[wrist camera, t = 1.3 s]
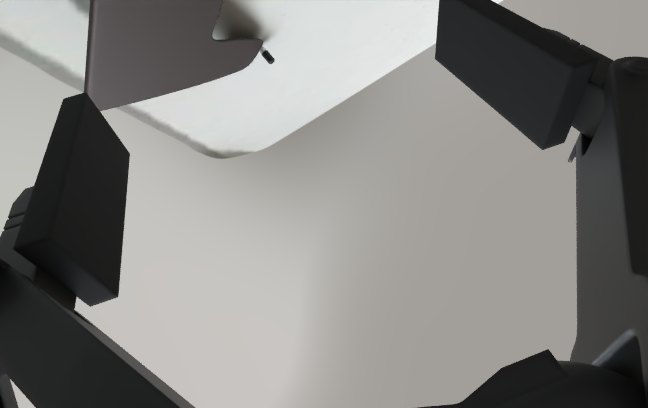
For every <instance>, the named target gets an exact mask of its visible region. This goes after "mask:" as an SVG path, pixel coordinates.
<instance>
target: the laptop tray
mask: <svg viewBox="0 0 648 408" xmlns="http://www.w3.org/2000/svg"><path fill="white" fill-rule="evenodd" d="M222 3H223V0H90V12H89V27H88V41H87V56H86V71H85V85H84V93H85V92H87V94H88V95H89V97H90V98H91V100H92V101H93V102H94V104H95V105H96V107H97V108H98V109H99V111H102V110H107V109H110V108H115V107H119V106H123V105H127V104H131V103H135V102H139V101H143V100H147V99H150V98H154V97H158V96H161V95H165V94H169V93H172V92H176V91H179V90H183V89H186V88H190V87H193V86H196V85H200V84H203V83H206V82H209V81H212V80H215V79H218V78H221V77H224V76H227V75H230V74H232V73H235V72H238V71H240V70H242V69H244V68H246V67H247V66H248V65H249V64H250V63H251V62H252V61H253V60H254V58H255V57H256V56H257V54H258V52H260V53H261V54H262V56H263V57H264V58H265V59H266V60H267V62H268V63H269V64H272V63H273V62H274V58H273V57H272V56H271V55H270V53H269V52H268V51H267V50H266V49H265V48H264V47H263V46H262V45H263V42H262V40H260V39H225V40H215V39H213V37H212V32H213V28H214V25H215V22H216V19H217V16H218V14H219V11H220V8H221V5H222Z"/></svg>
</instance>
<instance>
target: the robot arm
mask: <svg viewBox="0 0 648 408" xmlns="http://www.w3.org/2000/svg"><path fill="white" fill-rule="evenodd" d="M435 59H436V60H437V61H438V62H439V63H441V64H442V65H443V66H444V67H445V68H446V69H448V70H449V71H450V72H451V73H452V74H453V75H455V76H456V77H457V78H458V79H459V80H461V81H462V82H463V83H464V84H465V85H466V86H468V87H469V88H470V89H471V90H472V91H474V92H475V93H476V94H477V95H478V96H479V97H481V98H482V99H483V100H484V101H485V102H486V103H488V104H489V105H490V106H491V107H493V108H494V109H495V110H496V111H497V112H498V113H499V114H501V115H502V116H503V117H504V118H505V119H507V120H508V121H509V122H510V123H511V124H512V125H514V126H515V127H516V128H517V129H518V130H519V131H521V132H522V133H523V134H524V135H525V136H527V137H528V138H529V139H530V140H531V141H532V142H534V143H535V144H536V145H537V146H538V147H539V148H541V149H542V150H544V149H547V148H550V147H552V146H555V145H558V144H561V143H564V142H565V140H566V137H567V135H568V133H569V130H570V128H571V126H573V127H574V128H576V129H577V130H578V131H580V134H579V137H578V139H577V141H576V144H575V146H574V148H573V150H572V153H571V155H570V157H569V159H568V162H572V160H573V158H574V157H576V194H577V195H576V201H577V202H576V207H577V337H576V342H575V345H574V348H573V350H572V354H571V358H570V361H557V360H556V359H555V358H554V356H553V355H552V353H551V352H550V351H549V350H545V351H543V352H540V353H538V354H535V355H533V356H530V357H528V358H525V359H523V360H520V361H518V362H516V363H513V364H511V365H508V366H506V367H503V368H501V369H500V370H499V371H498V372H497V373H495V374H494V375H493V376H492V377H491V378H489V379H488V380H487V381H486V382H485V383H484V384H482V385H481V386H480V387H479V388H478V389H477V390H475V391H474V392H473V393H472V394H471V395H469V397H467V398H466V399H465V400H464V401H462V402H460V403H458V404H453V405H442V406H431V407H419V408H648V58H644V57H624V58H621V59H617V60H615V61H613V60H611V59H609V58H608V57H606V56H604V55H602V54H600V53H598V52H596V51H594V50H592V49H590V48H588V47H586V46H585V45H580V43H579V42H577V41H575V40H573V39H572V40H570V38H569V37H567V36H565V35H563V34H561V33H560V32H558V31H554V30H550V29H546V28H542V27H540V26H538V25H536V24H534V23H532V22H530V21H529V20H527V19H525V18H523V17H521V16H519V15H517V14H515V13H513V12H512V11H510V10H508V9H506V8H504V7H502V6H500V5H499V4H497V3H495V2H493V1H491V0H439V12H438V26H437V40H436V53H435ZM129 157H130V154H129V152H128V151H127V149H126V148H125V146H124V145H123V144H122V142H121V141H120V139H119V138H118V137H117V135H116V134H115V132H114V131H113V129H112V128H111V126H110V125H109V124H108V122H107V121H106V119H105V118H104V117H103V115H102V114H101V112H100V111H99V109H98V108H97V107H96V105H95V104H94V102H93V101H92V100H91V98H90V97H89V95H88V94H87V92H85V93H82V94H78V95H75V96H71V97H68V98H65V99H63V102H62V105H61V108H60V111H59V114H58V117H57V120H56V123H55V126H54V129H53V132H52V134H51V137H50V140H49V143H48V146H47V150H46V152H45V155H44V158H43V161H42V164H41V167H40V170H39V173H38V176H37V179H36V182H35V185H34V186H33V187H30V188H27V189H25V190H24V191H23V192H22V193H21V194H20V196H19V197H18V198H17V199H16V201H15V202H14V203H13V205H12V208H11V211H10V213H9V216H8V218H9V220H7V221H6V224H5V227H4V230H5V231H3V232H2V234H1V237H0V408H18V405H17V401H16V398H15V395H14V391H13V388H12V385H11V382H10V379H11V380H12V381H13V382H14V383H15V385H16V386H17V387H18V388H19V389H20V390H21V391H22V393H23V394H24V395H25V396H26V397H27V398H28V399H29V400H30V402H31V403H32V404H33V405H34V406H35V407H36V408H195V407H194V406H192V405H191V404H190V403H189V402H188V401H186V400H185V399H184V398H183V397H182V396H180V395H179V394H178V393H177V392H175V391H174V390H173V389H172V388H171V387H169V386H168V385H167V384H166V383H164V382H163V381H162V380H161V379H159V378H158V377H157V376H156V375H155V374H153V373H152V372H151V371H150V370H148V369H147V368H146V367H145V366H144V365H142V364H141V363H140V362H139V361H137V360H136V359H135V358H134V357H133V356H131V355H130V354H129V353H128V352H126V351H125V350H124V349H123V348H122V347H120V346H119V345H118V344H117V343H115V342H114V341H113V340H112V339H110V338H109V337H108V336H107V335H106V334H104V333H103V332H102V331H101V330H99V329H98V328H97V327H96V326H94V325H93V324H92V323H91V322H90V321H88V320H87V319H86V318H85V317H83V316H82V315H81V314H79V313H78V312H77V311H75V310H74V308H75V302H76V296H77V297H78V298H79V299H81V300H82V301H83V302H85V303H86V304H87V305H89V306H93V305H96V304H99V303H102V302H105V301H108V300H111V299H113V298H116V297H118V293H119V280H120V268H121V256H122V244H123V231H124V219H125V207H126V194H127V182H128V169H129Z"/></svg>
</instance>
